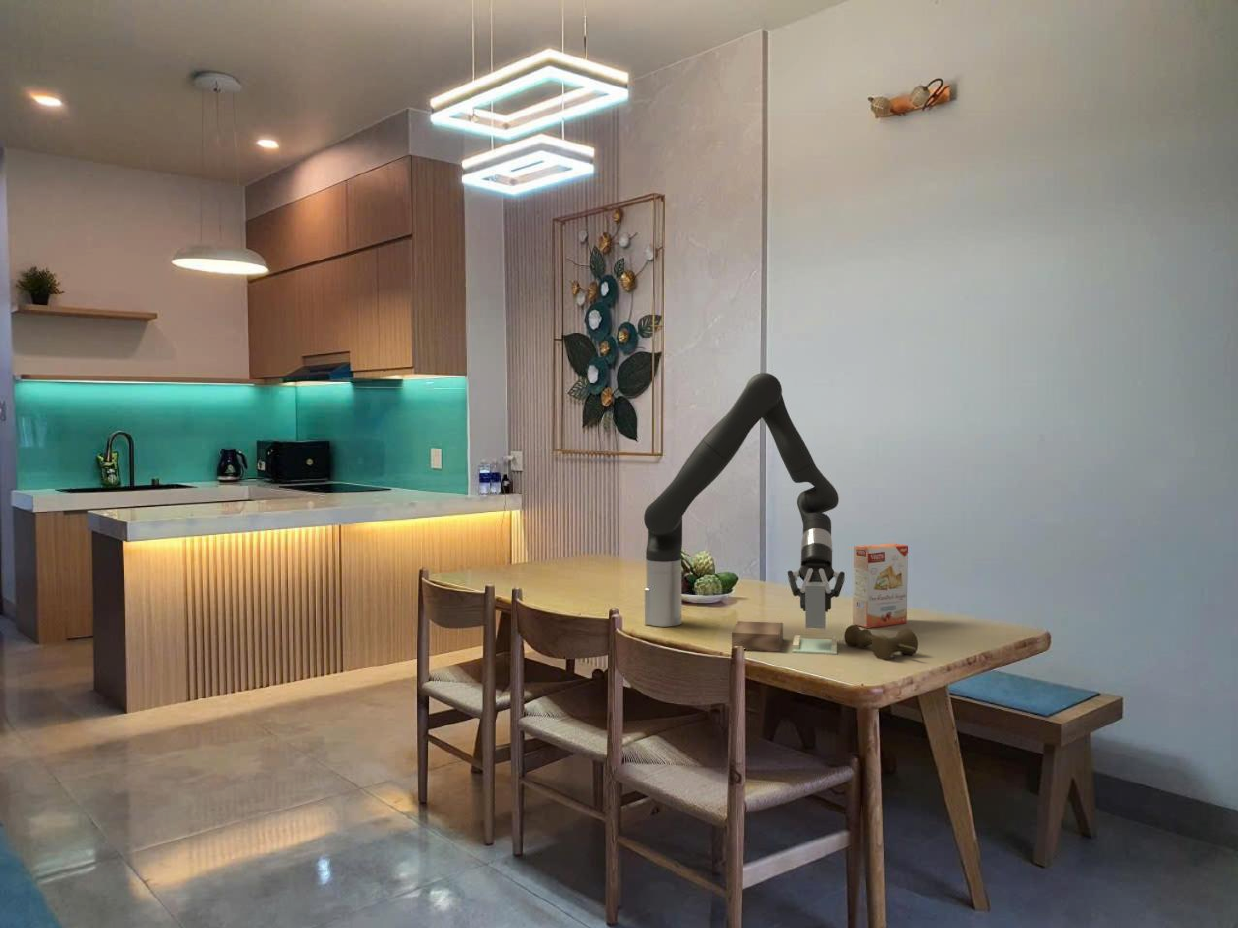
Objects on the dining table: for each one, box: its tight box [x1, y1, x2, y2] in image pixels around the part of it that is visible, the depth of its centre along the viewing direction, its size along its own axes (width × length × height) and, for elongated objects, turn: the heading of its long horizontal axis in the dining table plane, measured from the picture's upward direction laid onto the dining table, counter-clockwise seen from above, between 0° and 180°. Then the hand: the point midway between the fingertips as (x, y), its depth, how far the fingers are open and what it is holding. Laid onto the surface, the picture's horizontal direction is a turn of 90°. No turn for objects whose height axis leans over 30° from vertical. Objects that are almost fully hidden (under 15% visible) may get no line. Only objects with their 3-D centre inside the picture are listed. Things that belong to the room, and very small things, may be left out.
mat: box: [792, 634, 838, 655], centre depth 221 cm, size 10×13×1 cm
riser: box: [731, 620, 784, 652], centre depth 224 cm, size 11×13×4 cm
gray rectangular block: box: [804, 582, 827, 630], centre depth 221 cm, size 4×6×10 cm
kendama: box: [843, 624, 919, 661], centre depth 215 cm, size 6×10×20 cm
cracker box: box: [852, 542, 909, 629], centre depth 245 cm, size 14×6×21 cm, turn 117°
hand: (815, 609), depth 219 cm, fingers closed on gray rectangular block, 4 cm apart
